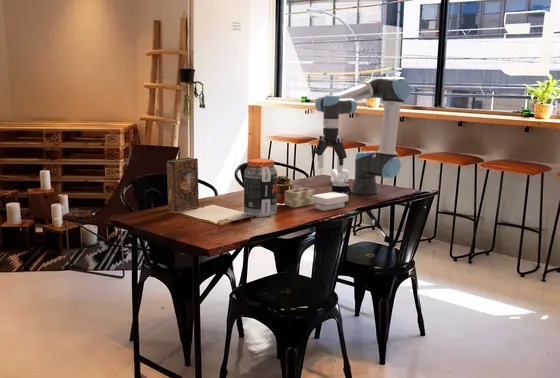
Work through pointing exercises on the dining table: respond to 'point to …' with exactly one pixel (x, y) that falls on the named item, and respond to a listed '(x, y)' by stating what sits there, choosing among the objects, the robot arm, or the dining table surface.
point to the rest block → (329, 206)
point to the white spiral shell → (339, 176)
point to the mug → (341, 188)
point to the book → (182, 183)
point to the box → (299, 197)
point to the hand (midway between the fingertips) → (330, 170)
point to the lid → (329, 198)
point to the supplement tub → (260, 188)
